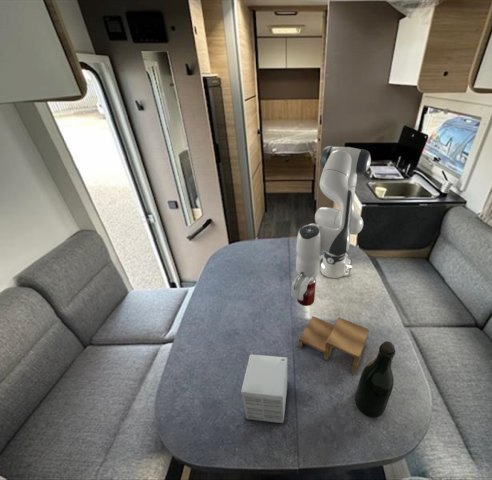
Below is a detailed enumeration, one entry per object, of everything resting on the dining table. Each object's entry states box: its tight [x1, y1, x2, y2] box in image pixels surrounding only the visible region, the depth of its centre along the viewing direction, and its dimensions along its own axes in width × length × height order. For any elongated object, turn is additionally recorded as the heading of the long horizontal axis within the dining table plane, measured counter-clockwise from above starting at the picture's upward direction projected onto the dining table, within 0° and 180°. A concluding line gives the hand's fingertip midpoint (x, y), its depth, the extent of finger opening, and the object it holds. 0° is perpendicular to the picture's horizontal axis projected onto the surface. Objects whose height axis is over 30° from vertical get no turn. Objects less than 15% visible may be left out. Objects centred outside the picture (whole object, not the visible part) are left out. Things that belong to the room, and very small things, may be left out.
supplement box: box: [240, 354, 289, 424], centre depth 89 cm, size 13×13×18 cm
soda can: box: [296, 277, 317, 307], centre depth 106 cm, size 7×7×12 cm
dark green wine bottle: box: [354, 340, 396, 419], centre depth 84 cm, size 10×10×33 cm
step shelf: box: [298, 315, 370, 374], centre depth 109 cm, size 14×25×11 cm, turn 61°
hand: (306, 292), depth 107 cm, fingers closed on soda can, 7 cm apart
